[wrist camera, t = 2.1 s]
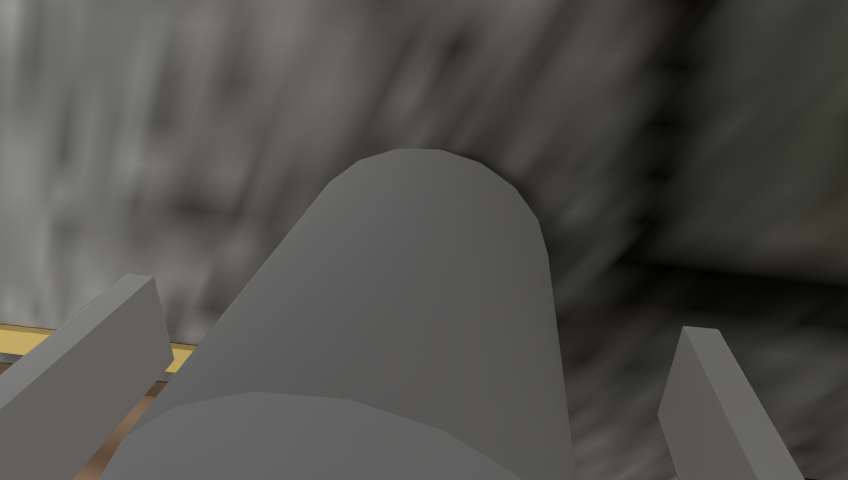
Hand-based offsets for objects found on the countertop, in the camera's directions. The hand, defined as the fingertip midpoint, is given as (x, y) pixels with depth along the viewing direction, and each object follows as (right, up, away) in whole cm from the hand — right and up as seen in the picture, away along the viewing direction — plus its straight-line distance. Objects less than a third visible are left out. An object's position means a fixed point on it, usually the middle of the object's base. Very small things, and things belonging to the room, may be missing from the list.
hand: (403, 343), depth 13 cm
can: (+1, +2, +4) cm, 5 cm away
